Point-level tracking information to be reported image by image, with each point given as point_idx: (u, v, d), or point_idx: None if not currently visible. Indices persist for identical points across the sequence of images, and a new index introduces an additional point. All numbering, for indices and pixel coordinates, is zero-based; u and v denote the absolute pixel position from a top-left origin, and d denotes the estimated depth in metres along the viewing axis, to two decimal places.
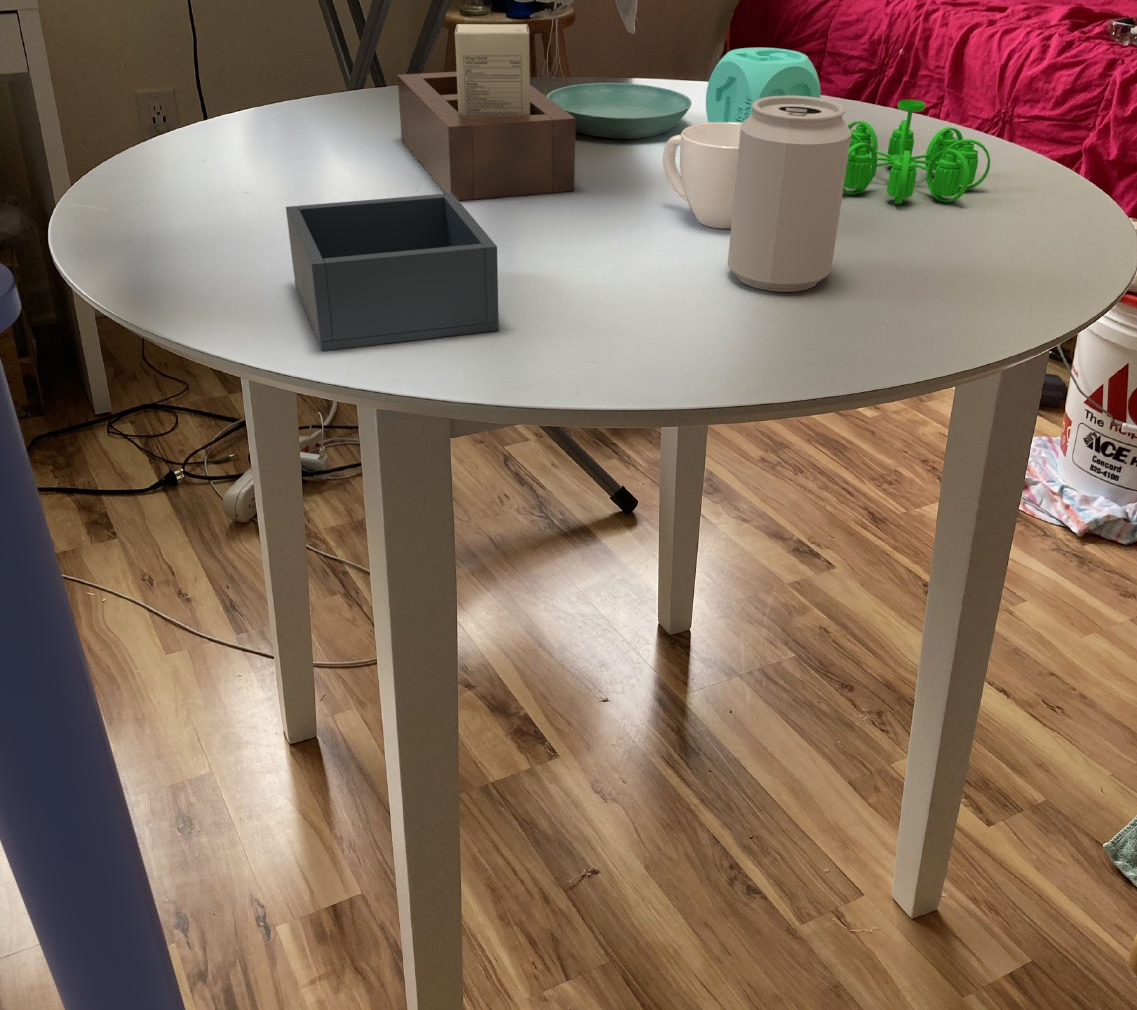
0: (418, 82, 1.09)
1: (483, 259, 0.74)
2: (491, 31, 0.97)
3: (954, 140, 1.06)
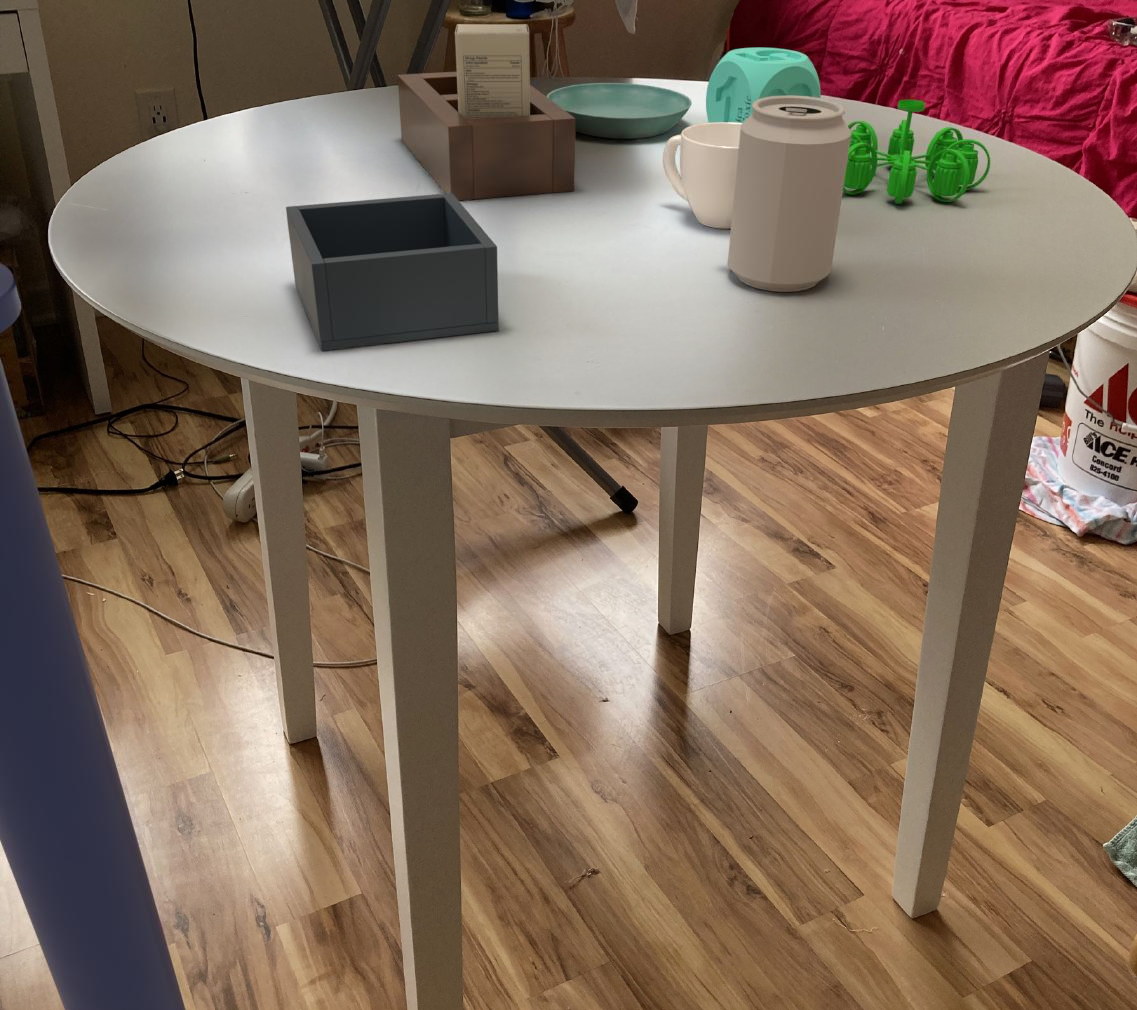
0: (418, 82, 1.09)
1: (483, 259, 0.74)
2: (491, 31, 0.97)
3: (954, 140, 1.06)
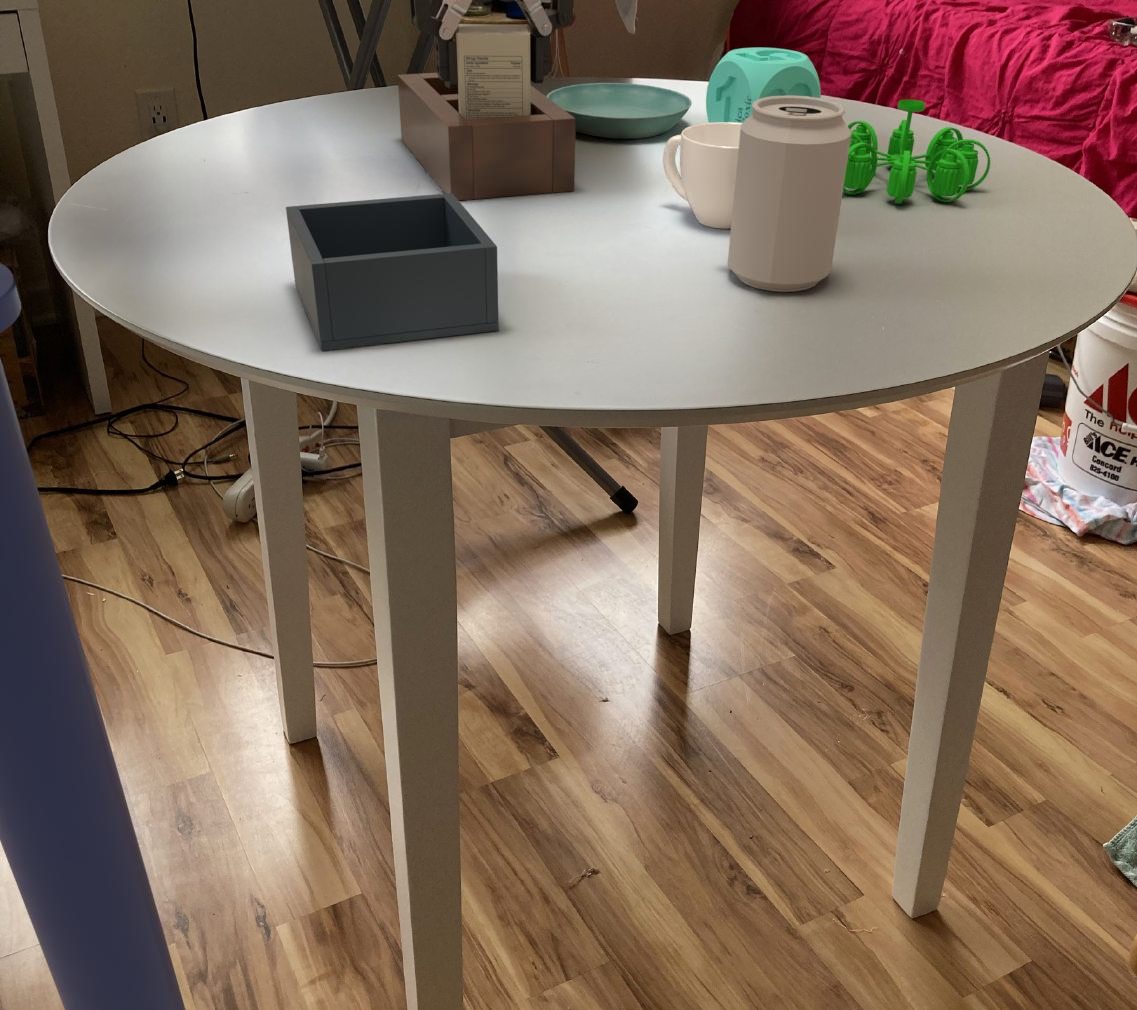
0: (418, 82, 1.09)
1: (483, 259, 0.74)
2: (492, 31, 0.97)
3: (954, 140, 1.06)
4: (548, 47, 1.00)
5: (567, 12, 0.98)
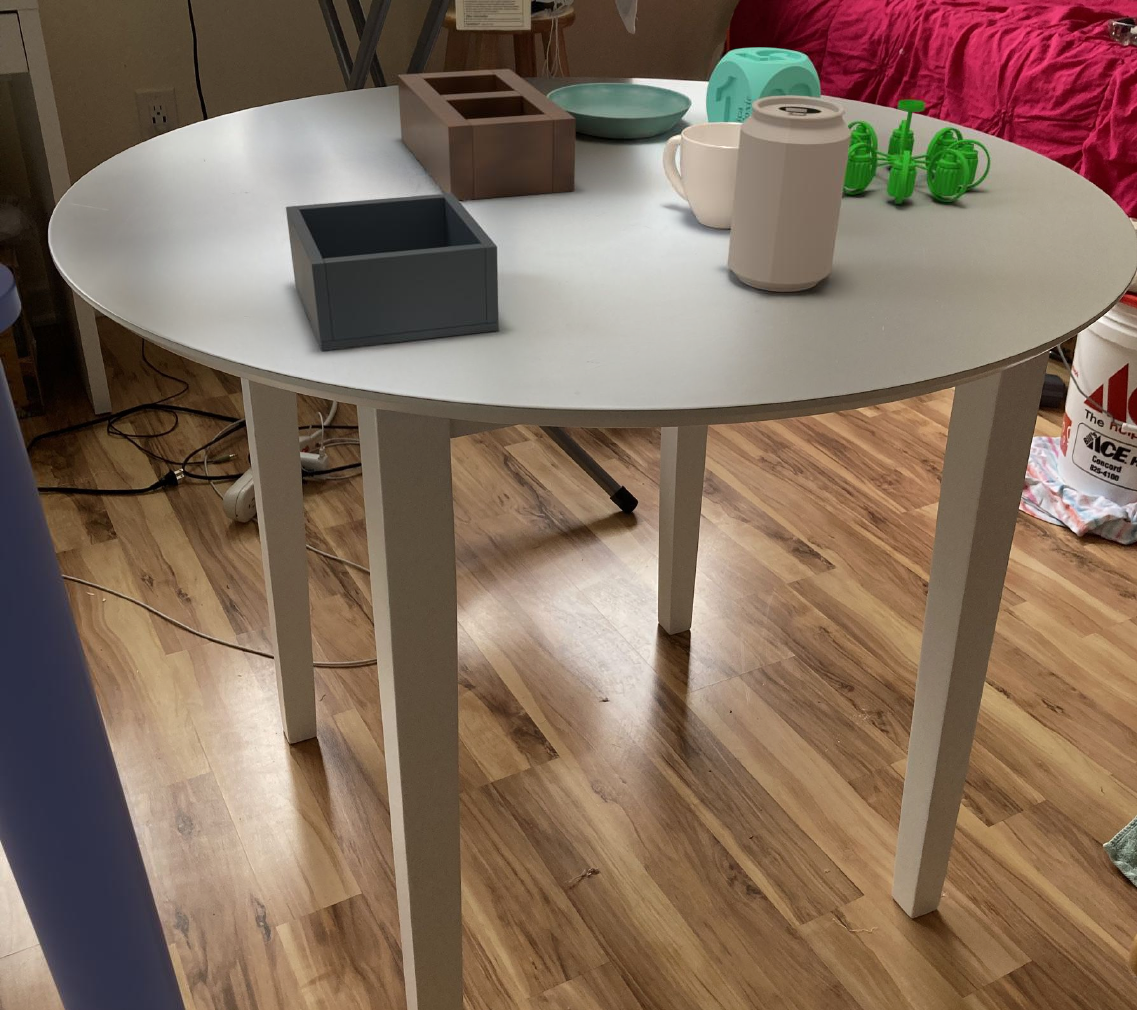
0: (418, 82, 1.09)
1: (483, 259, 0.74)
2: None
3: (954, 140, 1.06)
4: None
5: None
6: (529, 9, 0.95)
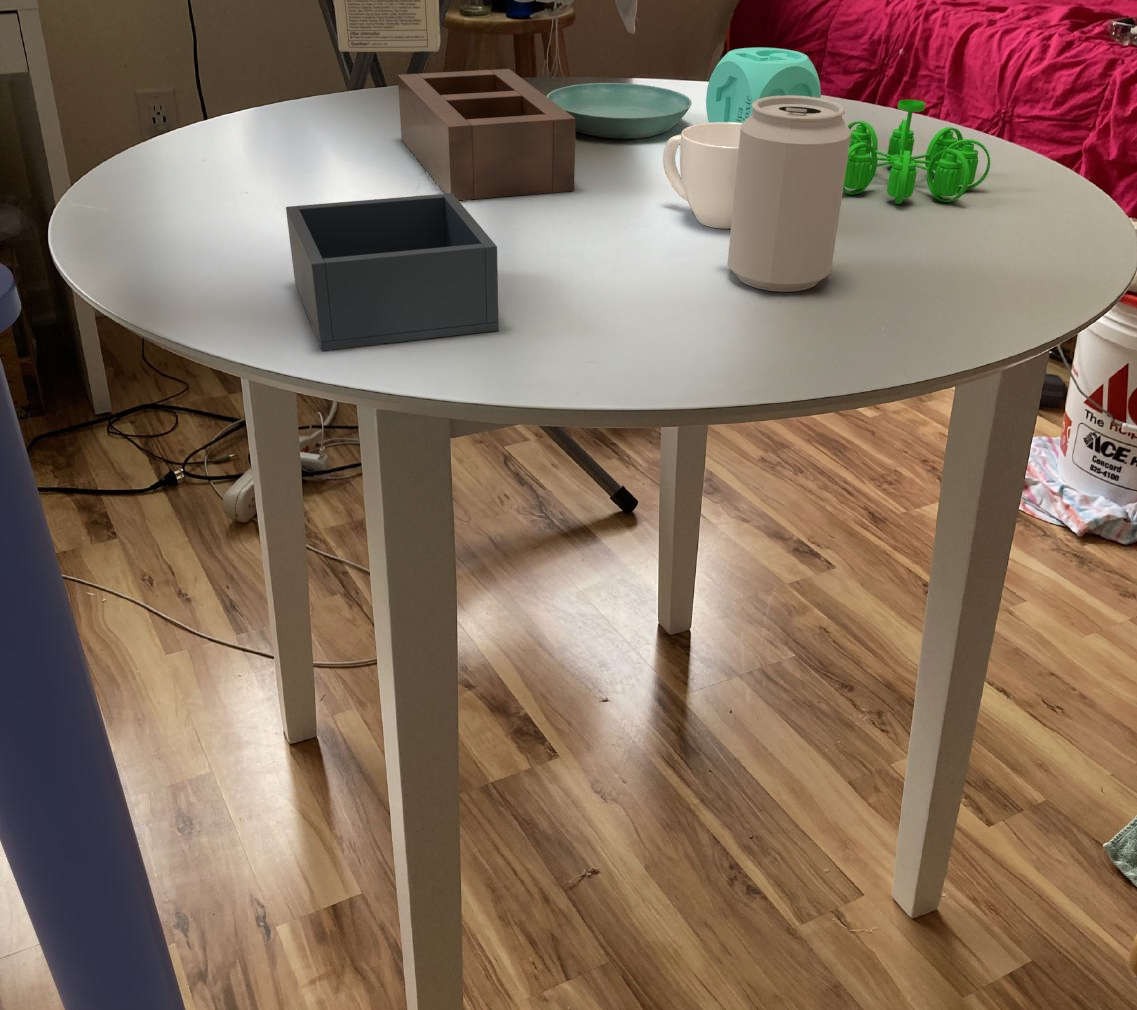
0: (418, 82, 1.09)
1: (483, 259, 0.74)
2: None
3: (954, 140, 1.06)
4: None
5: None
6: (435, 24, 0.71)
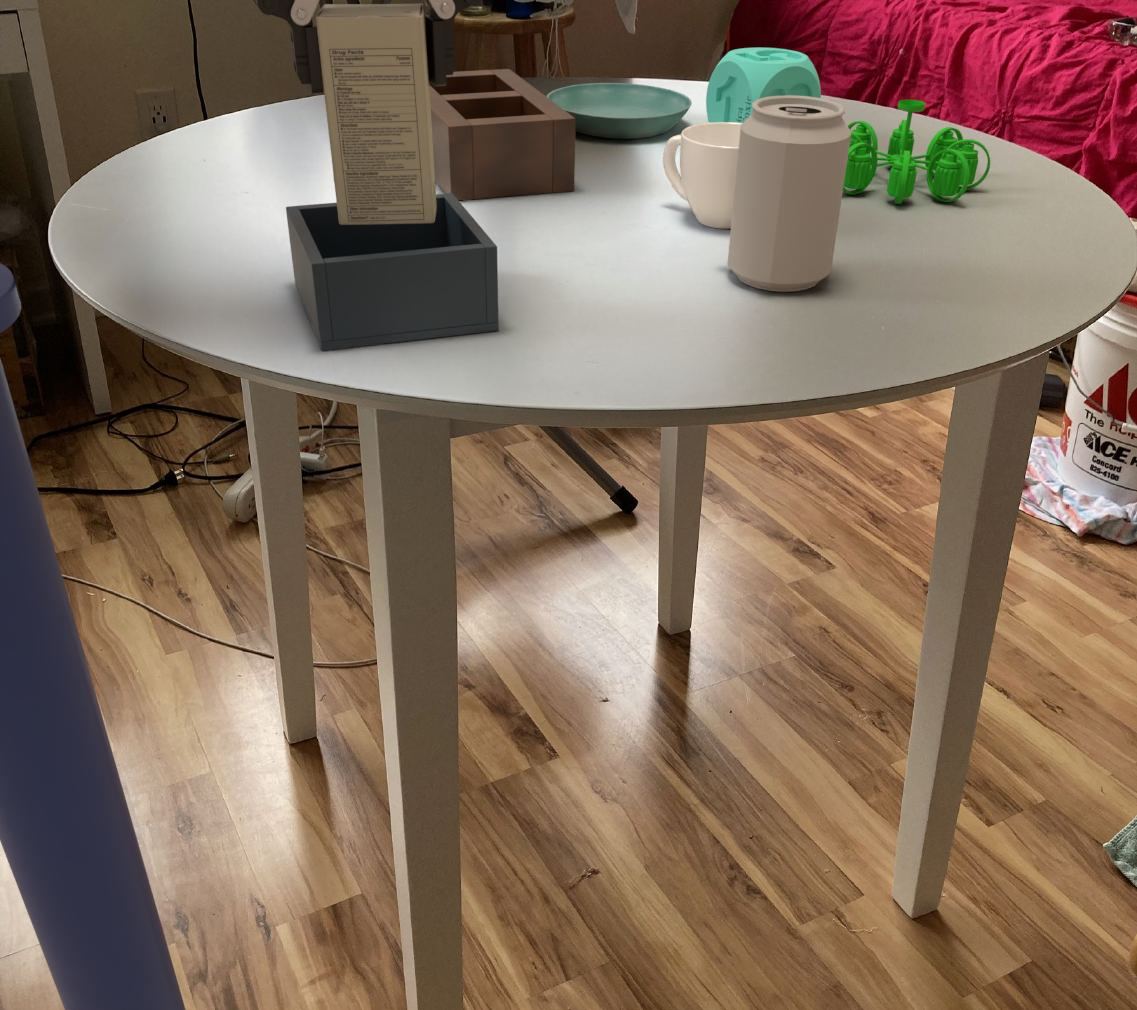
0: None
1: (483, 259, 0.74)
2: (368, 14, 0.68)
3: (954, 140, 1.06)
4: (451, 35, 0.71)
5: None
6: (431, 199, 0.74)
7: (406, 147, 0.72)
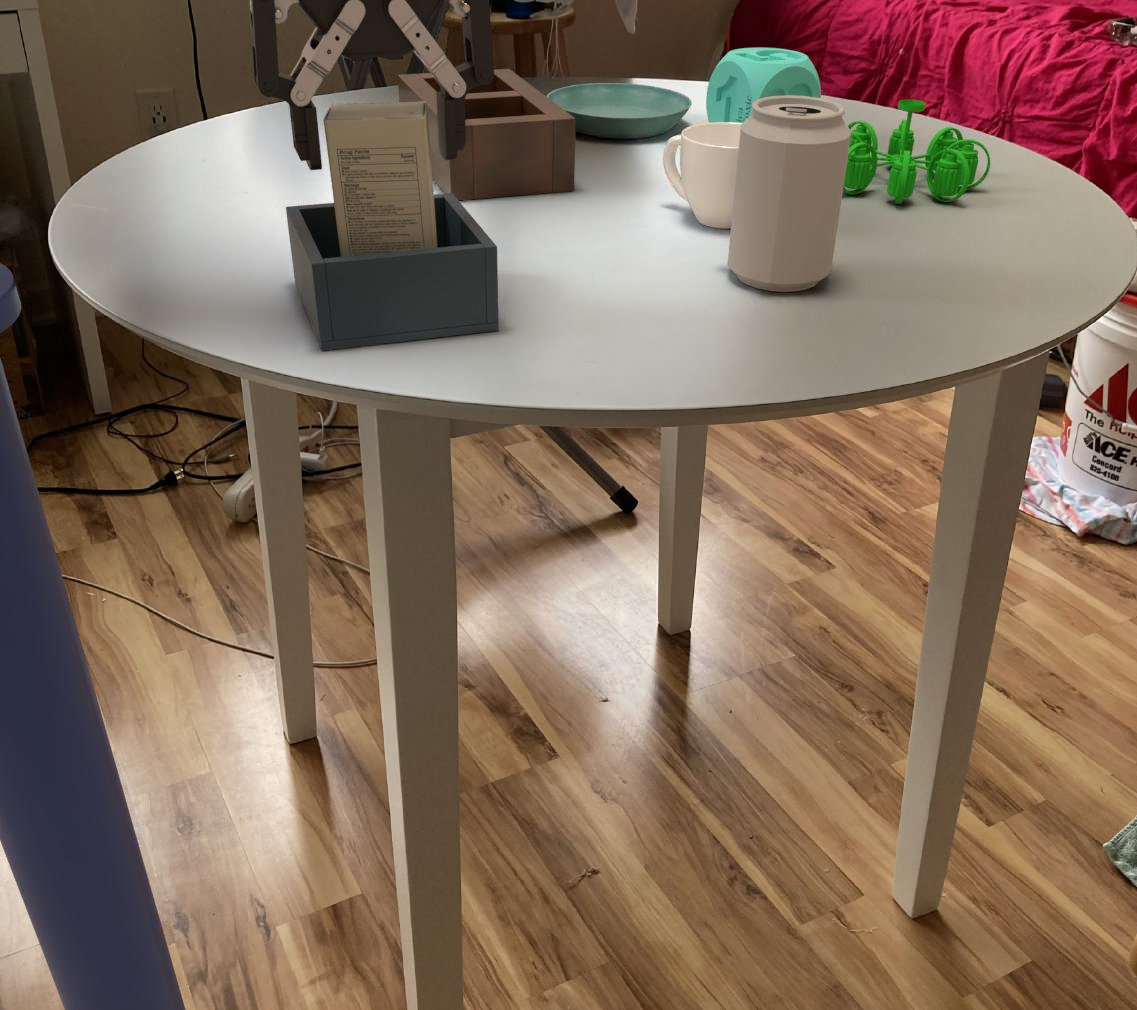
0: (418, 82, 1.09)
1: (483, 259, 0.74)
2: (373, 116, 0.71)
3: (954, 140, 1.06)
4: (462, 113, 0.74)
5: (486, 66, 0.72)
6: None
7: (411, 237, 0.75)
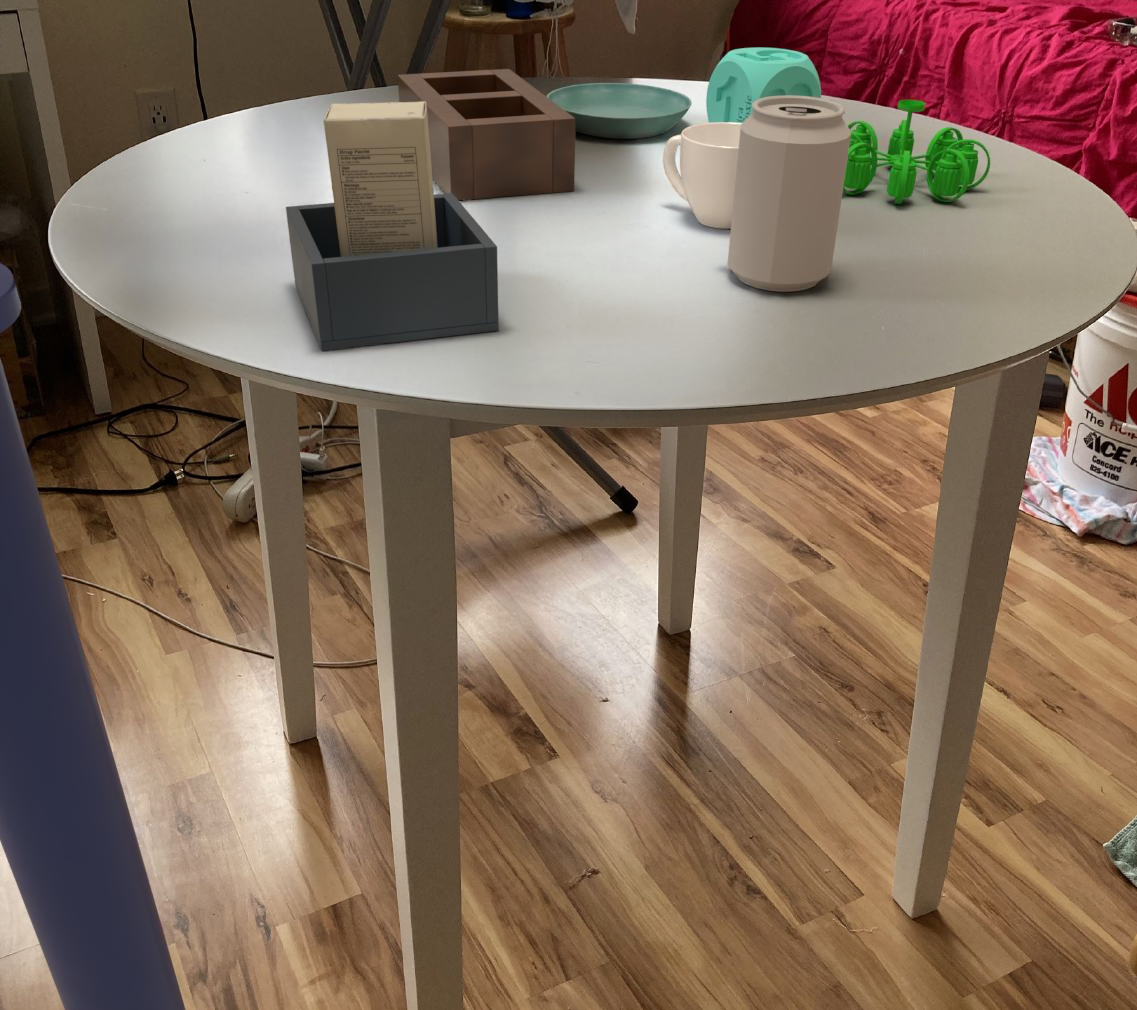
0: (418, 82, 1.09)
1: (483, 259, 0.74)
2: (373, 116, 0.71)
3: (954, 140, 1.06)
4: None
5: None
6: None
7: (411, 237, 0.75)
